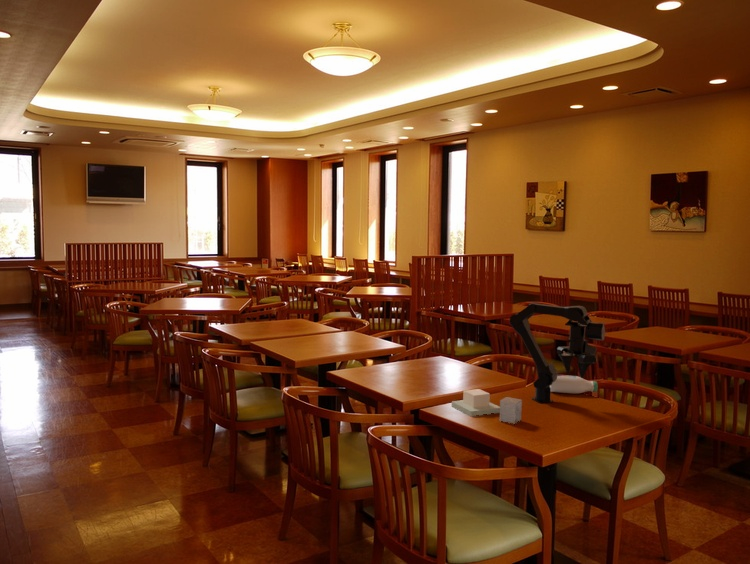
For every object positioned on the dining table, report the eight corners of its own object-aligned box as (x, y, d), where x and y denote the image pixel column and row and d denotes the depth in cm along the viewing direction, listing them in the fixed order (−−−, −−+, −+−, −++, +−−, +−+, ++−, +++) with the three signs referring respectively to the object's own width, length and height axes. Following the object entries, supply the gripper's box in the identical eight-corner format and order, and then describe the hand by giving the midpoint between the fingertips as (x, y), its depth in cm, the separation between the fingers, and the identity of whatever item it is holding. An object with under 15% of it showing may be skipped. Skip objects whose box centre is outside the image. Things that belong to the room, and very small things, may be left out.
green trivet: (480, 402, 251) (480, 398, 251) (501, 412, 238) (501, 407, 238) (451, 406, 245) (451, 401, 245) (471, 416, 233) (471, 411, 232)
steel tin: (505, 417, 233) (506, 396, 232) (520, 420, 229) (521, 399, 228) (499, 421, 228) (500, 400, 227) (514, 424, 224) (515, 403, 224)
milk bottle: (549, 395, 270) (595, 399, 267) (551, 384, 265) (599, 388, 262) (548, 381, 275) (593, 385, 273) (550, 370, 270) (597, 374, 267)
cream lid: (478, 401, 246) (479, 388, 246) (489, 406, 240) (489, 393, 239) (463, 402, 243) (463, 390, 243) (473, 408, 237) (473, 395, 236)
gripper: (609, 340, 240) (606, 379, 241) (579, 332, 257) (577, 368, 259) (585, 342, 236) (583, 381, 238) (556, 333, 254) (555, 370, 255)
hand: (574, 375), depth 247 cm, fingers open, 9 cm apart
